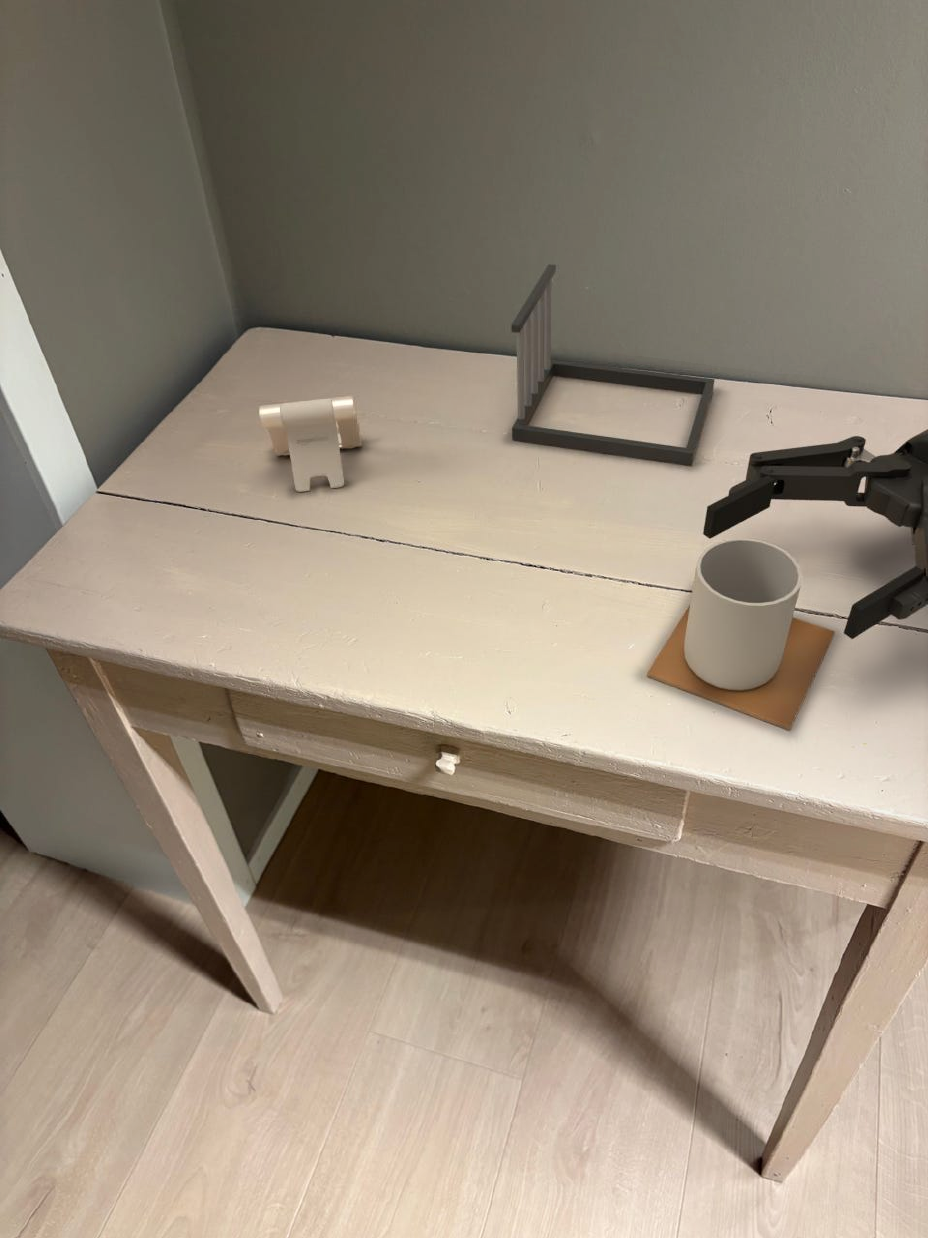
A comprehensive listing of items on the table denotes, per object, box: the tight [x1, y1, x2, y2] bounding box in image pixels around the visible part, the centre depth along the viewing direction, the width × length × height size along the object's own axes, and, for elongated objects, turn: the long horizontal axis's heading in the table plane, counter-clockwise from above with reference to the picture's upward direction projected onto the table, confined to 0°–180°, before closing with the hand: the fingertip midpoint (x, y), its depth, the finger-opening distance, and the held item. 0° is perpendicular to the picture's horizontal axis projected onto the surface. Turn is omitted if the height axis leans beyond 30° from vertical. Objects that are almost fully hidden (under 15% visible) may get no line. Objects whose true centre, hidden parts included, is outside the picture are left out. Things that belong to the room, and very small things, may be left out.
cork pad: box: [646, 604, 835, 731], centre depth 74 cm, size 11×11×1 cm
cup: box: [684, 537, 803, 691], centre depth 71 cm, size 7×10×9 cm
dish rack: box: [510, 263, 716, 467], centre depth 95 cm, size 18×14×12 cm
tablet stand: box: [258, 395, 363, 493], centre depth 92 cm, size 9×8×8 cm
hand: (775, 569), depth 69 cm, fingers open, 13 cm apart
